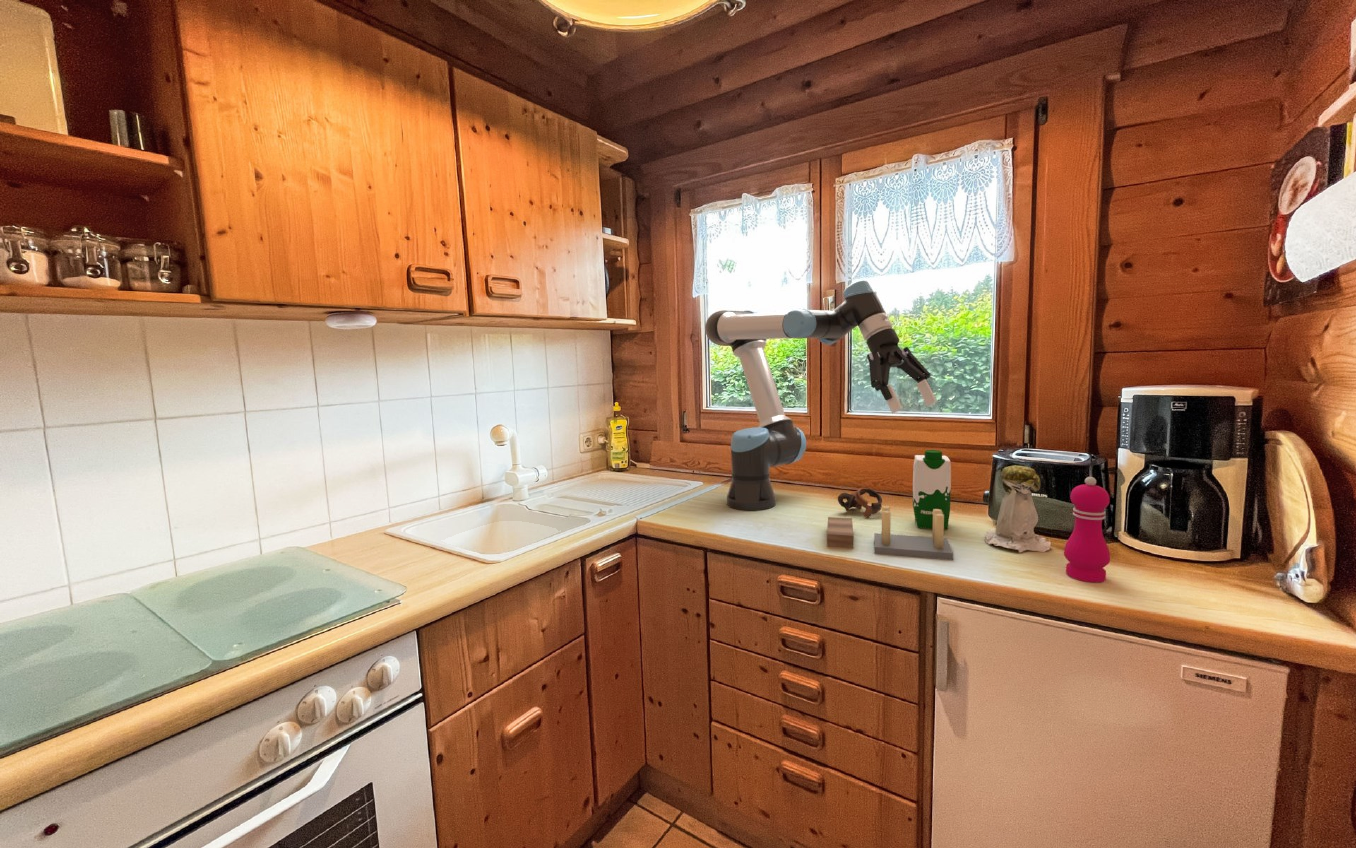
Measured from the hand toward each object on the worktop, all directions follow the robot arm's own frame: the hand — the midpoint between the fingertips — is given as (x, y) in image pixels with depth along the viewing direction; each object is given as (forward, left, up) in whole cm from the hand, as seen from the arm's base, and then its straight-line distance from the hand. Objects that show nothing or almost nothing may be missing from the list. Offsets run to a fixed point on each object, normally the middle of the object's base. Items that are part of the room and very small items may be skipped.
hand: (915, 407), depth 132 cm
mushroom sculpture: (+21, -6, -32) cm, 39 cm away
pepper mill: (+29, -23, -32) cm, 49 cm away
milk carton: (+4, +5, -32) cm, 32 cm away
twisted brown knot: (-14, +12, -32) cm, 37 cm away
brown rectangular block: (-18, -11, -32) cm, 38 cm away
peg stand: (-2, -15, -31) cm, 35 cm away
